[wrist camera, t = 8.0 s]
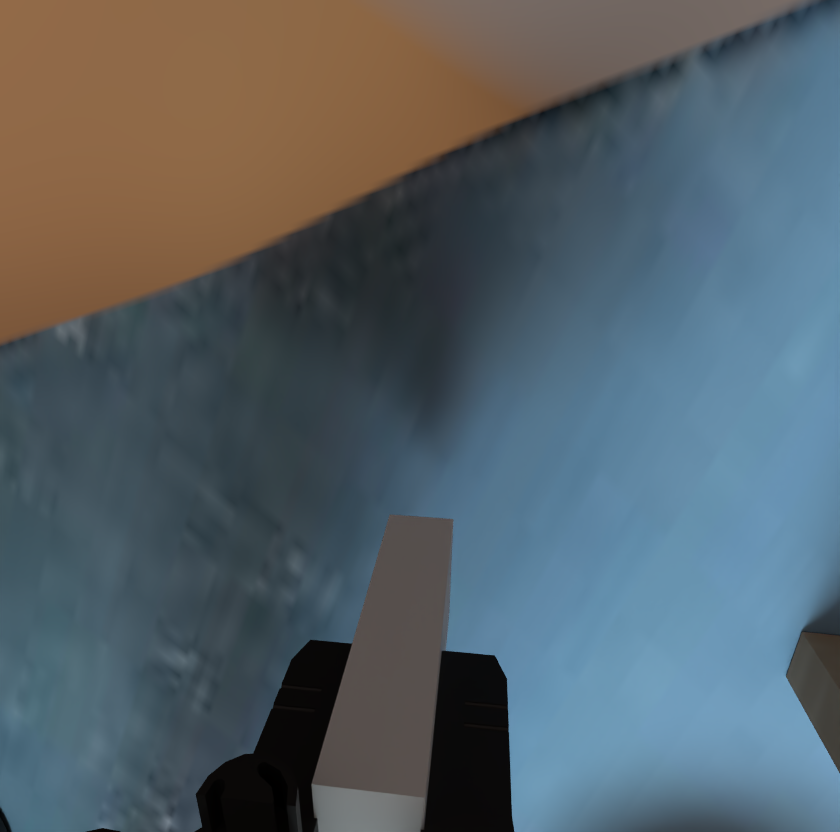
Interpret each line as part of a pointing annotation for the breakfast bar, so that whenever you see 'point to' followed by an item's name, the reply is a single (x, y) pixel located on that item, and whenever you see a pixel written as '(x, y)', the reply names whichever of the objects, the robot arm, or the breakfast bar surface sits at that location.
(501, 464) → the breakfast bar surface
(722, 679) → the breakfast bar surface
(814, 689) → the bridge
